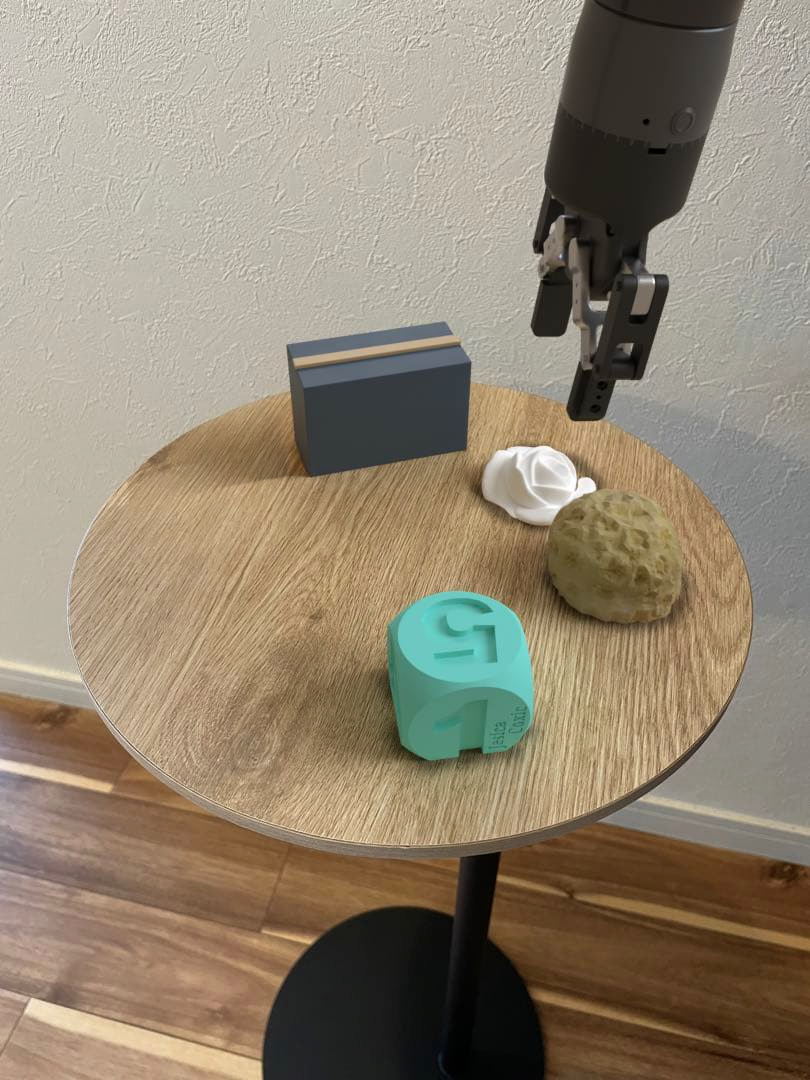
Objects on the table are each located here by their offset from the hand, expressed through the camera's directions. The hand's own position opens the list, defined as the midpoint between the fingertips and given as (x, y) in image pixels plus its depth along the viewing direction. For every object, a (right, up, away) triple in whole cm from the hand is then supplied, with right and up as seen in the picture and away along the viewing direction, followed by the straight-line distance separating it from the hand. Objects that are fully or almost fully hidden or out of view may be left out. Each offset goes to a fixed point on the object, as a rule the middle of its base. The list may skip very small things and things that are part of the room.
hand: (564, 373), depth 59 cm
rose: (+1, -7, +23) cm, 24 cm away
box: (-12, -2, +27) cm, 30 cm away
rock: (+6, -14, +14) cm, 21 cm away
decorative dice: (-6, -22, +6) cm, 24 cm away
